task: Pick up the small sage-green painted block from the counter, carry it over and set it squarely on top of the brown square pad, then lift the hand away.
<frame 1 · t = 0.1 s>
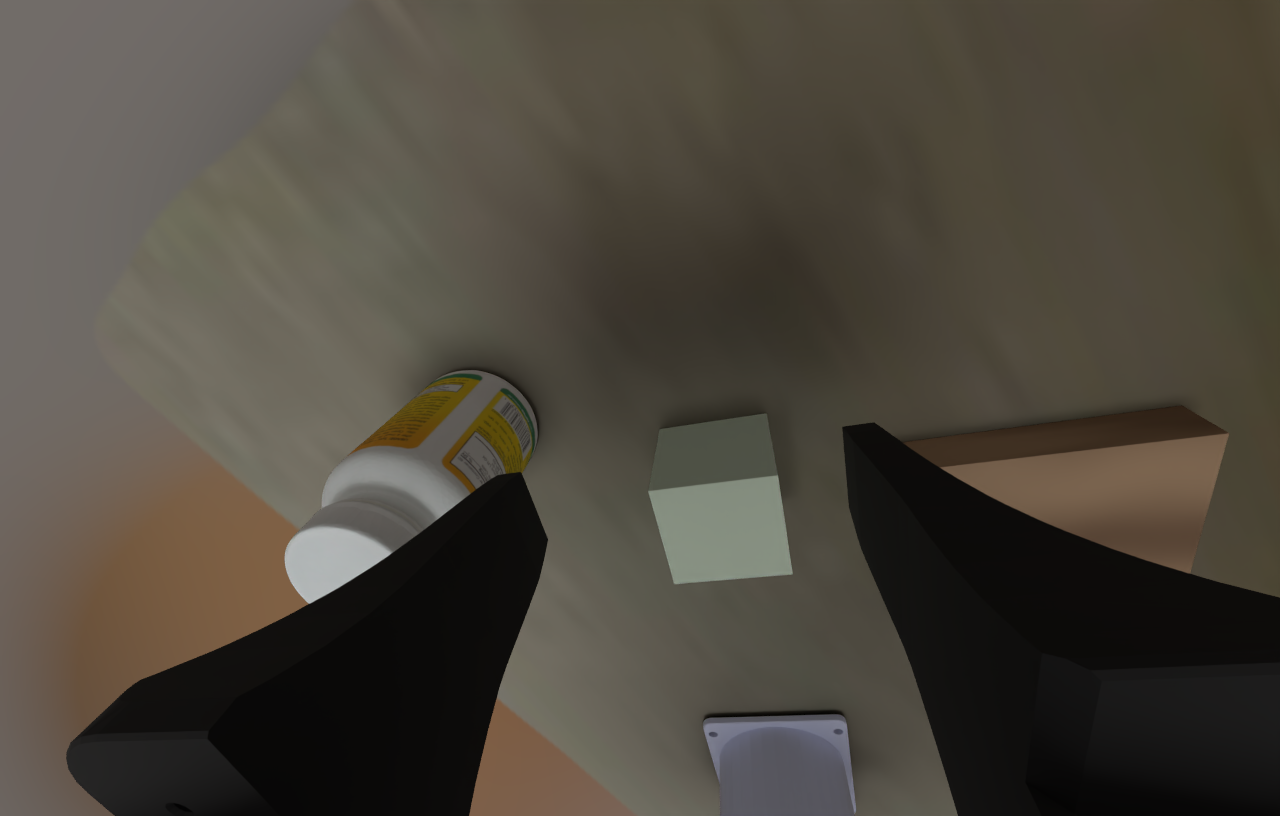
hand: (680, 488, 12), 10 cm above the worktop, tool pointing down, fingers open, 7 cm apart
sage block: (720, 464, 23), on the worktop
brown square pad: (1014, 518, 23), on the worktop
supplement bottle: (483, 418, 24), on the worktop
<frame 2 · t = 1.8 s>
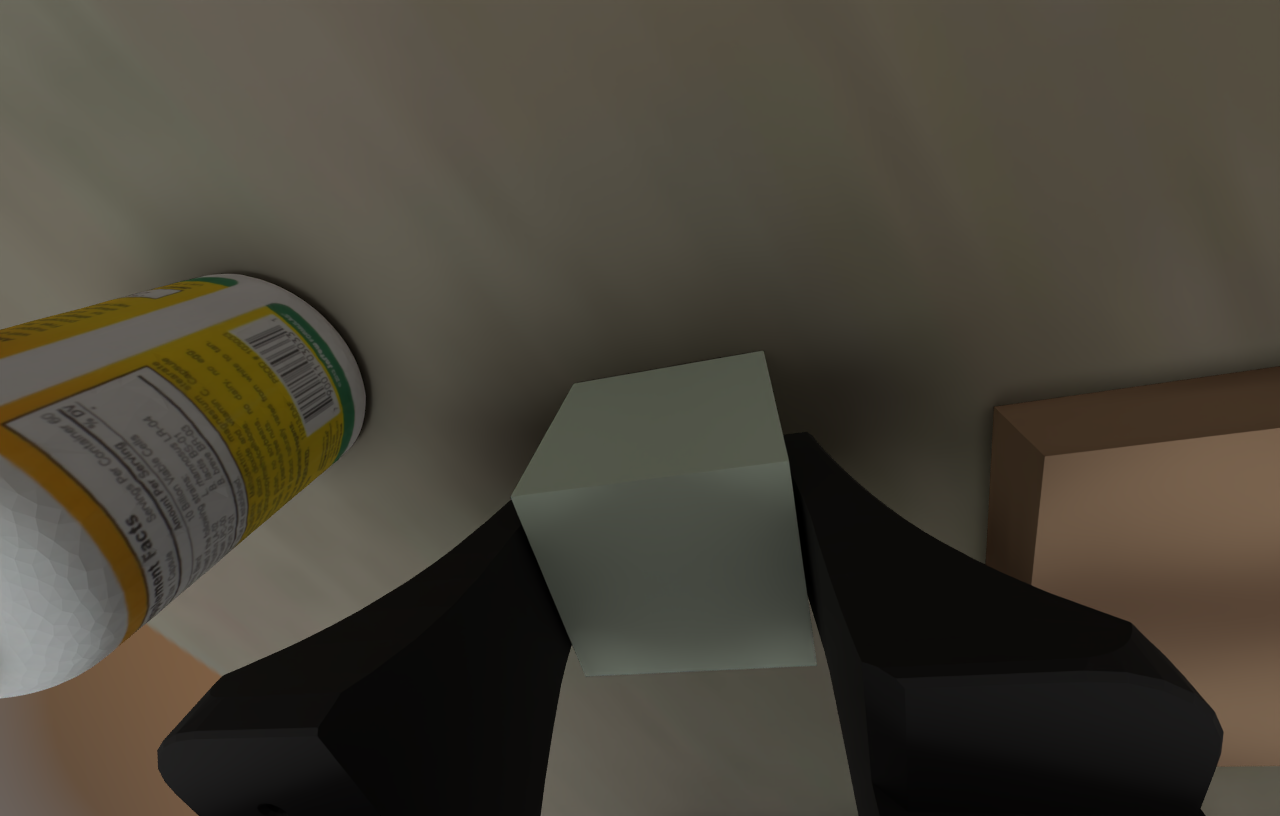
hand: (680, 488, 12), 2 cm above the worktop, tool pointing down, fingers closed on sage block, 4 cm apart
sage block: (684, 449, 13), on the worktop, touching gripper
brown square pad: (1198, 542, 13), on the worktop
supplement bottle: (278, 369, 14), on the worktop
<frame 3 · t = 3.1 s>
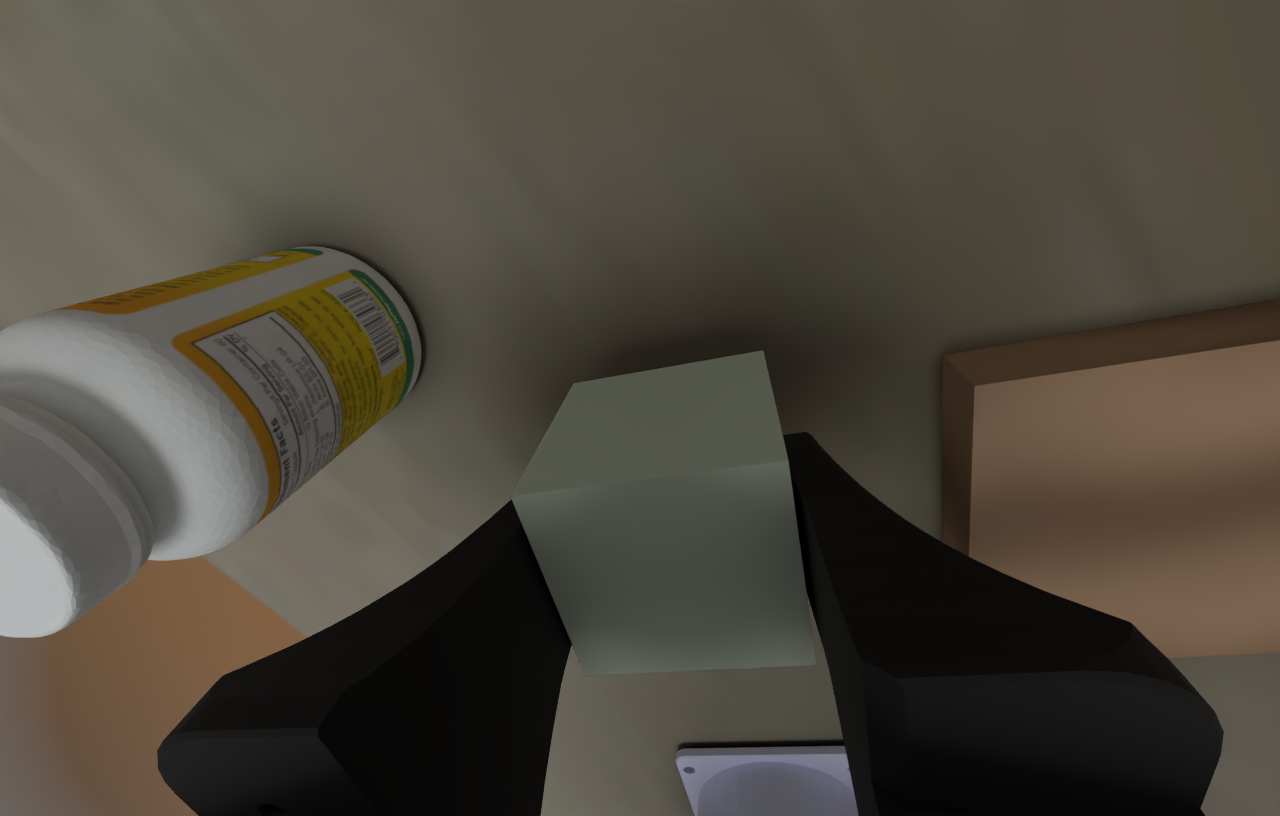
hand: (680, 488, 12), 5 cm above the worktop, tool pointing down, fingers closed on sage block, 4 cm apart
sage block: (683, 449, 13), point 3 cm above the worktop, touching gripper
brown square pad: (1118, 472, 16), on the worktop
supplement bottle: (346, 329, 16), on the worktop
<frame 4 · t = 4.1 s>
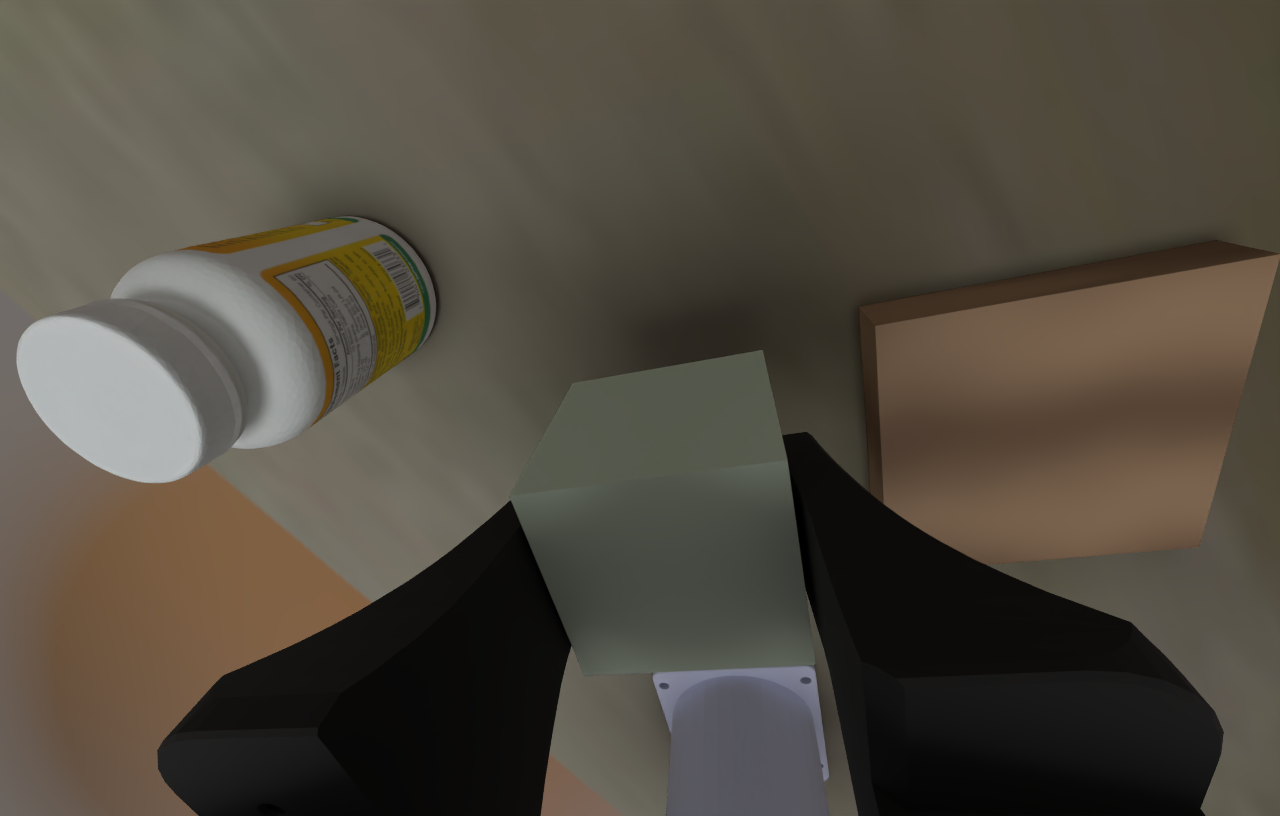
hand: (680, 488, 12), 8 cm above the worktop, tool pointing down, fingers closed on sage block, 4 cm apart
sage block: (683, 449, 13), point 7 cm above the worktop, touching gripper
brown square pad: (1008, 407, 19), on the worktop
supplement bottle: (373, 287, 20), on the worktop
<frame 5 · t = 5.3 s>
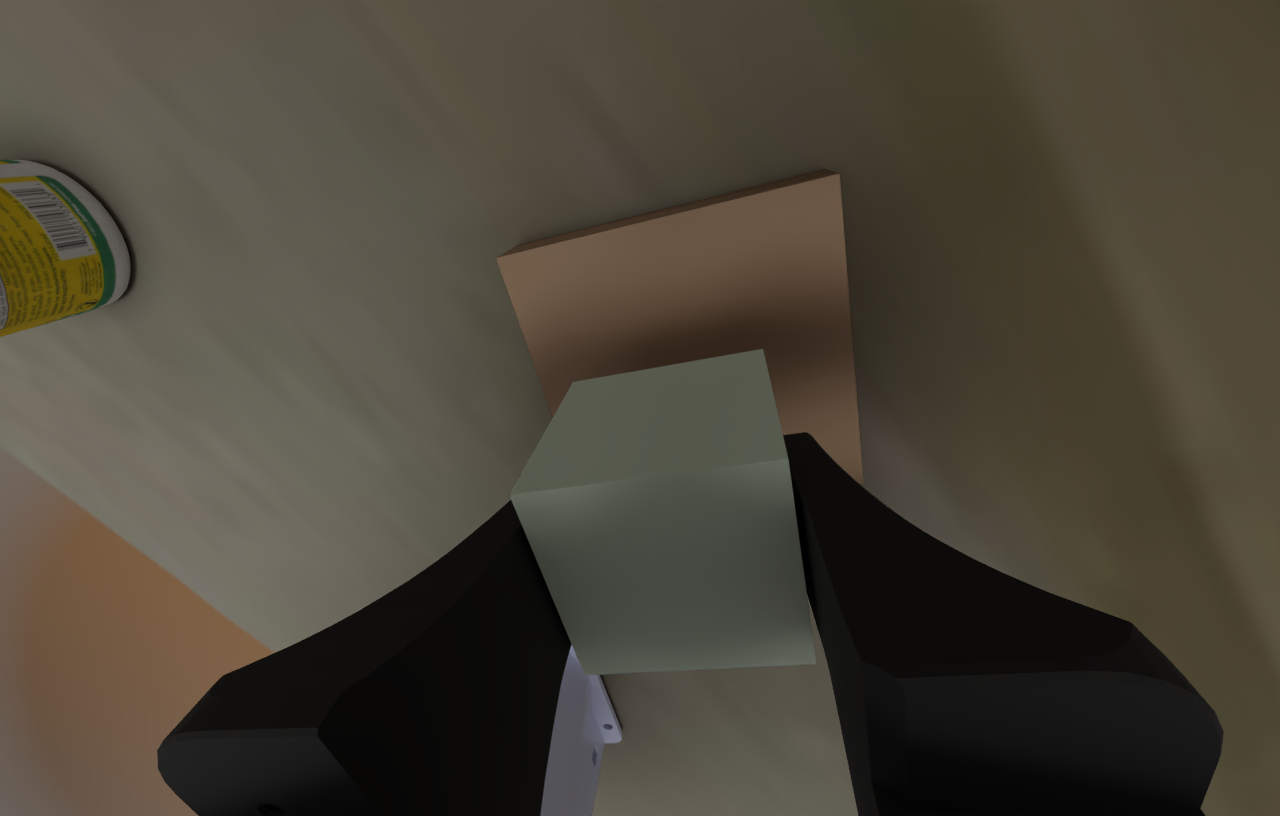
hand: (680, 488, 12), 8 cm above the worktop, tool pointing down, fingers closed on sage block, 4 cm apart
sage block: (683, 448, 13), point 6 cm above the worktop, touching gripper
brown square pad: (693, 349, 19), on the worktop
supplement bottle: (71, 235, 20), on the worktop
when the fingers open (5 cm above the worktop, at t = 6.3 s): sage block drops 2 cm, point 2 cm above the worktop.
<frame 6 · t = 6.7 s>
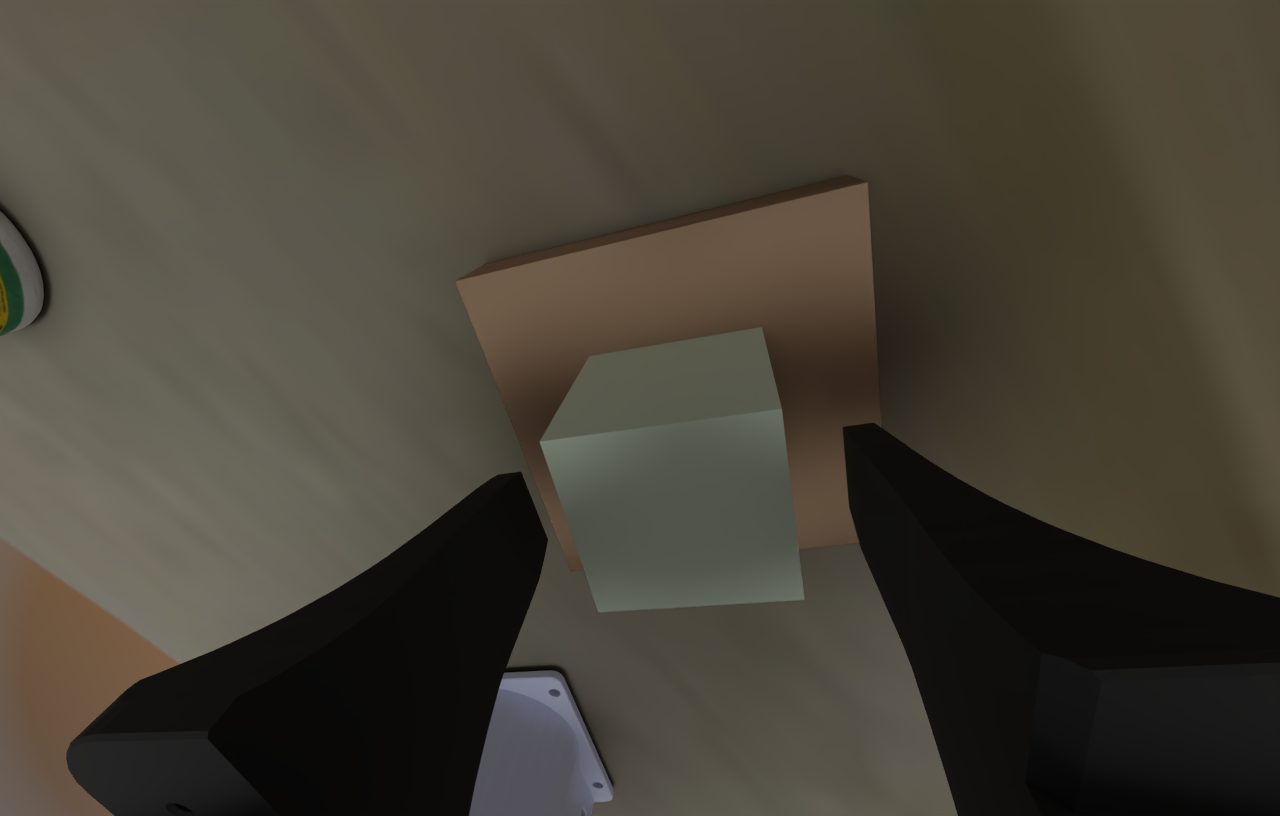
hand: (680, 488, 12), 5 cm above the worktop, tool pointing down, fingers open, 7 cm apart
sage block: (688, 418, 15), point 2 cm above the worktop
brown square pad: (690, 381, 17), on the worktop
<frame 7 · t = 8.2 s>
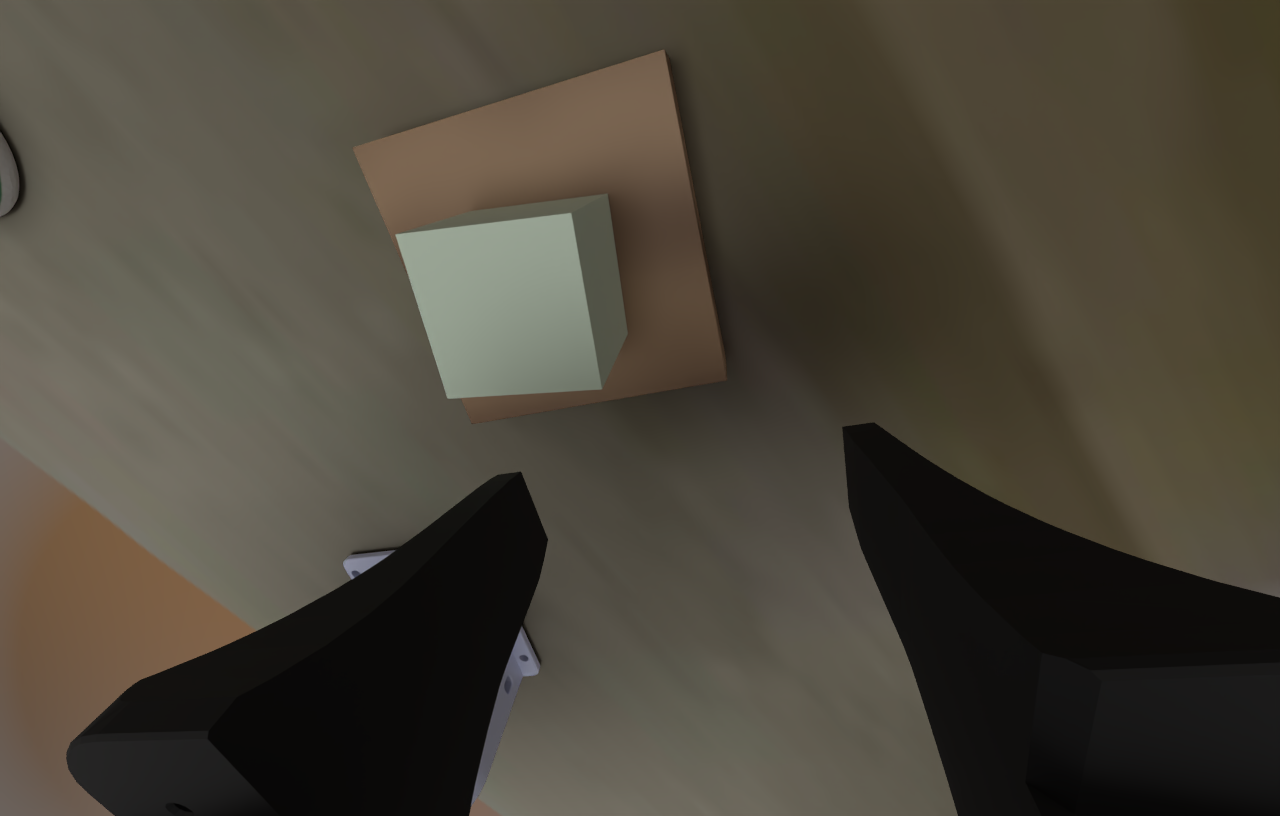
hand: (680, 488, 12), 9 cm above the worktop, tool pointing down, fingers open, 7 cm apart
sage block: (552, 274, 18), point 2 cm above the worktop, touching brown square pad
brown square pad: (568, 255, 20), on the worktop, touching sage block
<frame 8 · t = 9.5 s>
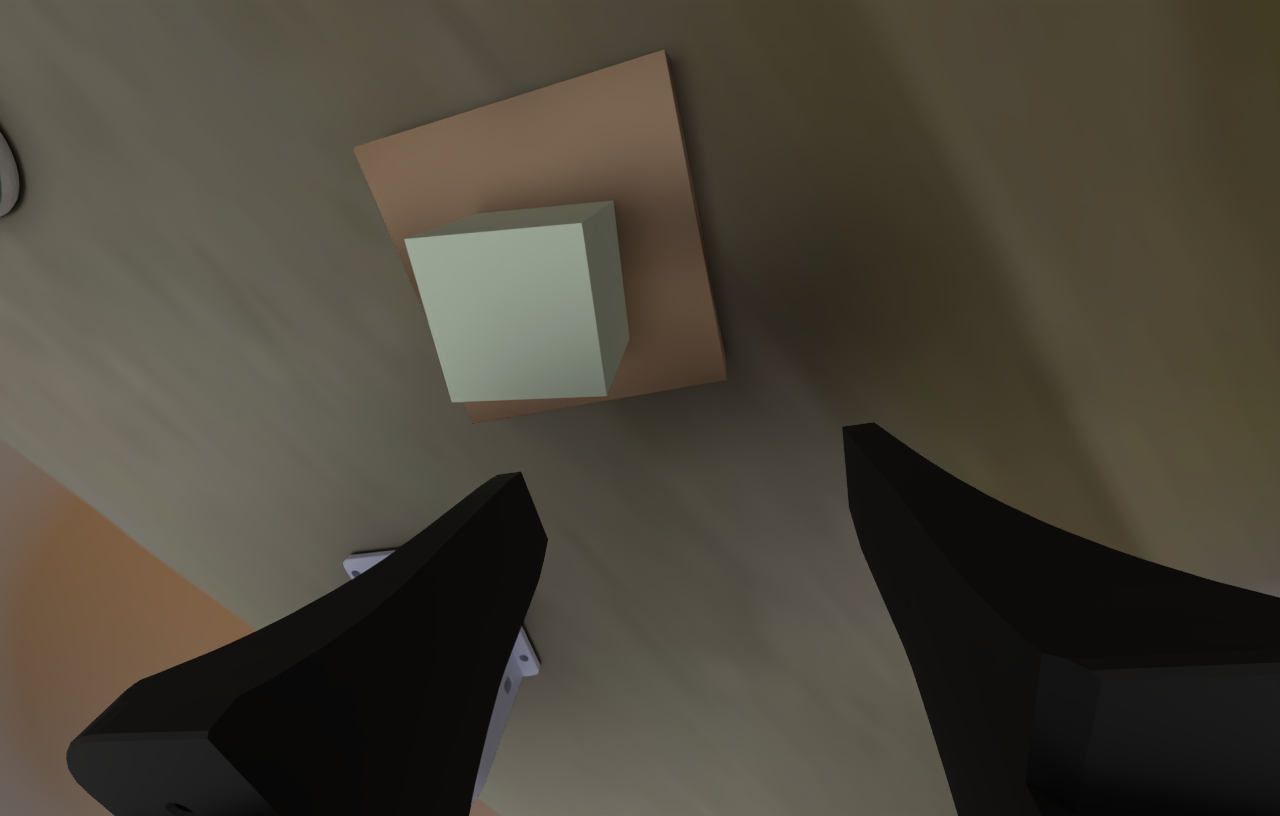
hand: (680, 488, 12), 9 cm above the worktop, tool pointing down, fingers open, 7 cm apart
sage block: (555, 278, 18), point 2 cm above the worktop, touching brown square pad
brown square pad: (568, 255, 20), on the worktop, touching sage block
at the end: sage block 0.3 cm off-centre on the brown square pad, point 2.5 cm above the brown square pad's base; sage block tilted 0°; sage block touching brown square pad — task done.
